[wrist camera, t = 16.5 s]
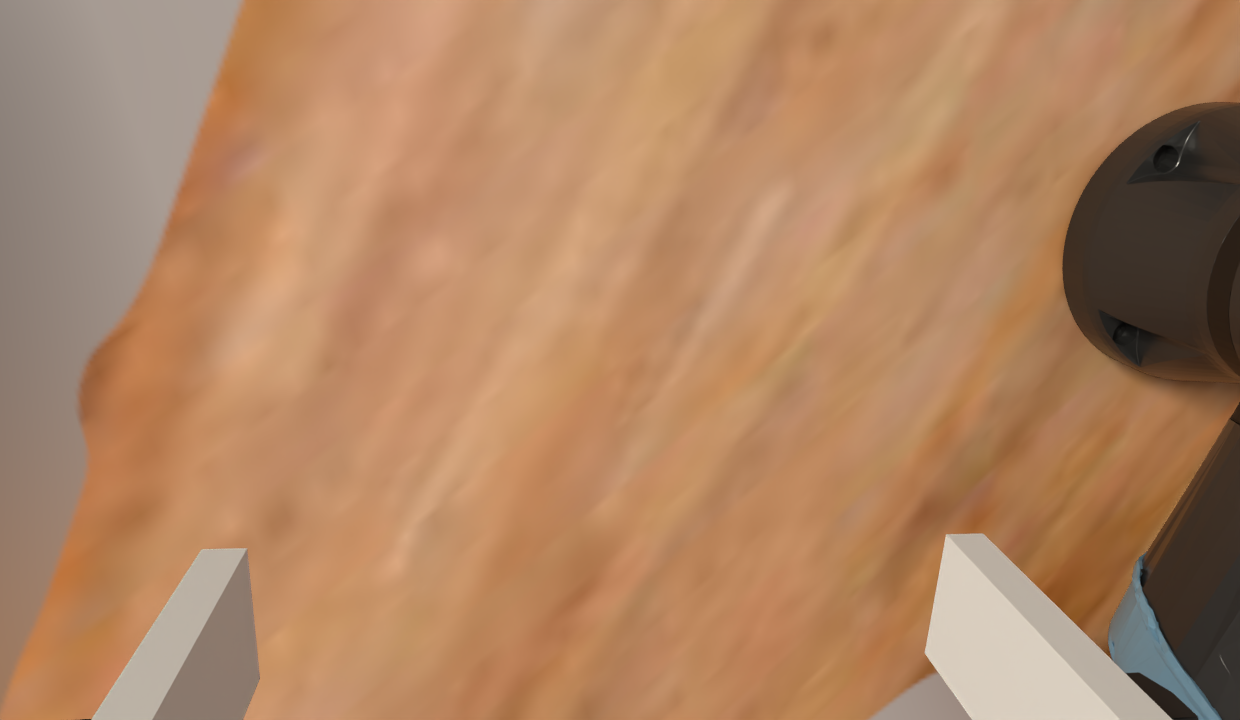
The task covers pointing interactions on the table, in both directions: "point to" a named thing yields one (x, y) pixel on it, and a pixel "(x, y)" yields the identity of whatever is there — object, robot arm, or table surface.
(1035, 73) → the table surface
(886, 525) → the table surface
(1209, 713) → the robot arm
